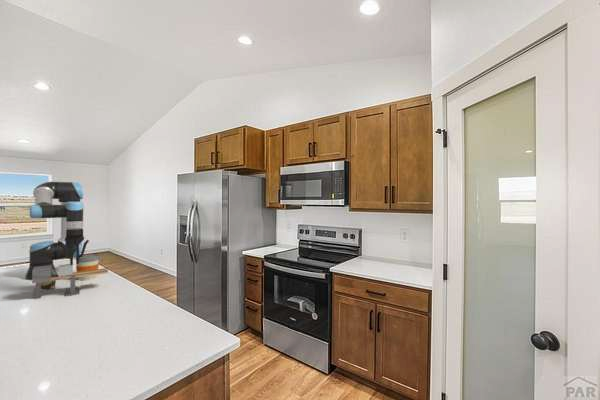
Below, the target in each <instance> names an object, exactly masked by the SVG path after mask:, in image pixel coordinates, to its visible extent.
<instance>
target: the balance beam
mask: <svg viewBox="0 0 600 400" xmlns="http://www.w3.org/2000/svg"><path fill="white" fill-rule="evenodd" d="M104 274H105V275H106V274H109V270H108V268H107V267H106V268H104V267H103V268H98V269H96V270H88V271H80V272H77V271H73V275H70V276H62V277H58V274H57V275H52V265H50V266H41V267H34V269H33V270H32V280H31V281H32V282H31V283H32V285H33V284H36V283H40V282H48V281H55V280H56V281H61V280H62V281H63V280H68V279H69V280H70V277H72V276H75V279H76V278H78V277H84V276H91V275H96V276H97V275H98V276H99V275H104Z"/></svg>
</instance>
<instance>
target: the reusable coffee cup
mask: <svg viewBox="0 0 600 400" xmlns="http://www.w3.org/2000/svg"><path fill="white" fill-rule="evenodd" d="M99 260H100V254H98V253H97V254H96V253H92V254H91V253H89V254H83V257H80V258H79V264H76V270H75V271H76V272H80V271H88V270H96V269H99V266H100V262H99ZM77 278H78V281H90V280H95V279H96V278H97V275H91V276H84V277H77Z"/></svg>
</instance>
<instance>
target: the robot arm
mask: <svg viewBox="0 0 600 400" xmlns="http://www.w3.org/2000/svg"><path fill="white" fill-rule="evenodd" d="M83 193H84V192H83V187H82V184H81V183H79V182H74V181H73V182H72V181H47V182H46V181H45V182H44V183H41V184H39V185H37V186H36V187H35V188H34V189H33V192H32V194H33V196H34V197H33V198H34V199H35V200H34V204H31V205H30V206H29V218H30V219H59V218H61V219H60V237H59V238H58V239H57V242H55V241H54V240H46V241H38V242H35V243H33V244H31V245H30V246H29V251H28V253H29V264H28V265H29V267H28V269H27V271H26V274H25V280H31V281H32V270H33V269H34V267H41V266H50V265H52V270H57V269H56V267H55V264H54V260H64V259H69V262H70V263H69V264H70V265H73V272H76V271H77V270H76V264H79V258H80V257H83V255H85V254H84V253H85V251H86V247H87V245H88V243H89V242H90V241H89V239H88V238H87V239H86V238H85V236H84V208H85V207H84V202H83V201H81V200H83V199H84V194H83ZM54 199H55V200H57V202H58V203H60V204H53V200H54Z"/></svg>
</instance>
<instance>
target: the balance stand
mask: <svg viewBox="0 0 600 400" xmlns="http://www.w3.org/2000/svg"><path fill="white" fill-rule="evenodd" d="M69 280H70V281H69V287H68V288H65V293H64V294H65V295H64V297H69V296H75V295H80V288H81V287H80V286H76V278H75V276H72V277H70V278H69ZM34 289H35V293H34V294H35V299H36V300H37V299H41V298H42V289H41V282H40V283H35V288H34Z"/></svg>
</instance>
